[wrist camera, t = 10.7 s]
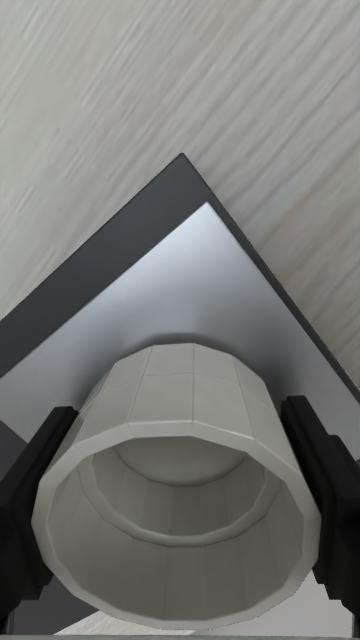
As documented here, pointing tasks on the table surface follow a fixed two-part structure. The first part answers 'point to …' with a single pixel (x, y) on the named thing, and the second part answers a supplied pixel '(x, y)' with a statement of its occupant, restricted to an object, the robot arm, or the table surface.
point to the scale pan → (181, 331)
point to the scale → (83, 285)
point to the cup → (178, 495)
